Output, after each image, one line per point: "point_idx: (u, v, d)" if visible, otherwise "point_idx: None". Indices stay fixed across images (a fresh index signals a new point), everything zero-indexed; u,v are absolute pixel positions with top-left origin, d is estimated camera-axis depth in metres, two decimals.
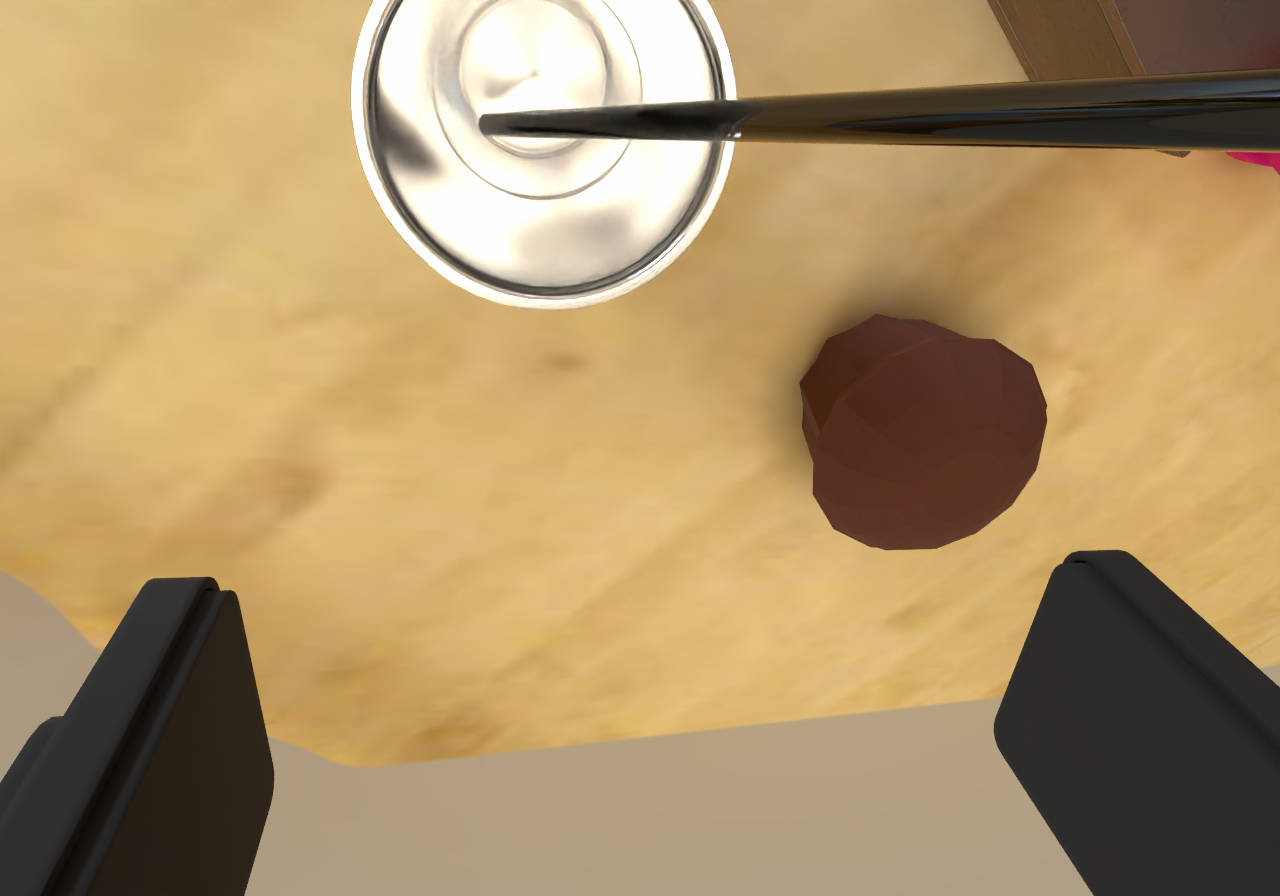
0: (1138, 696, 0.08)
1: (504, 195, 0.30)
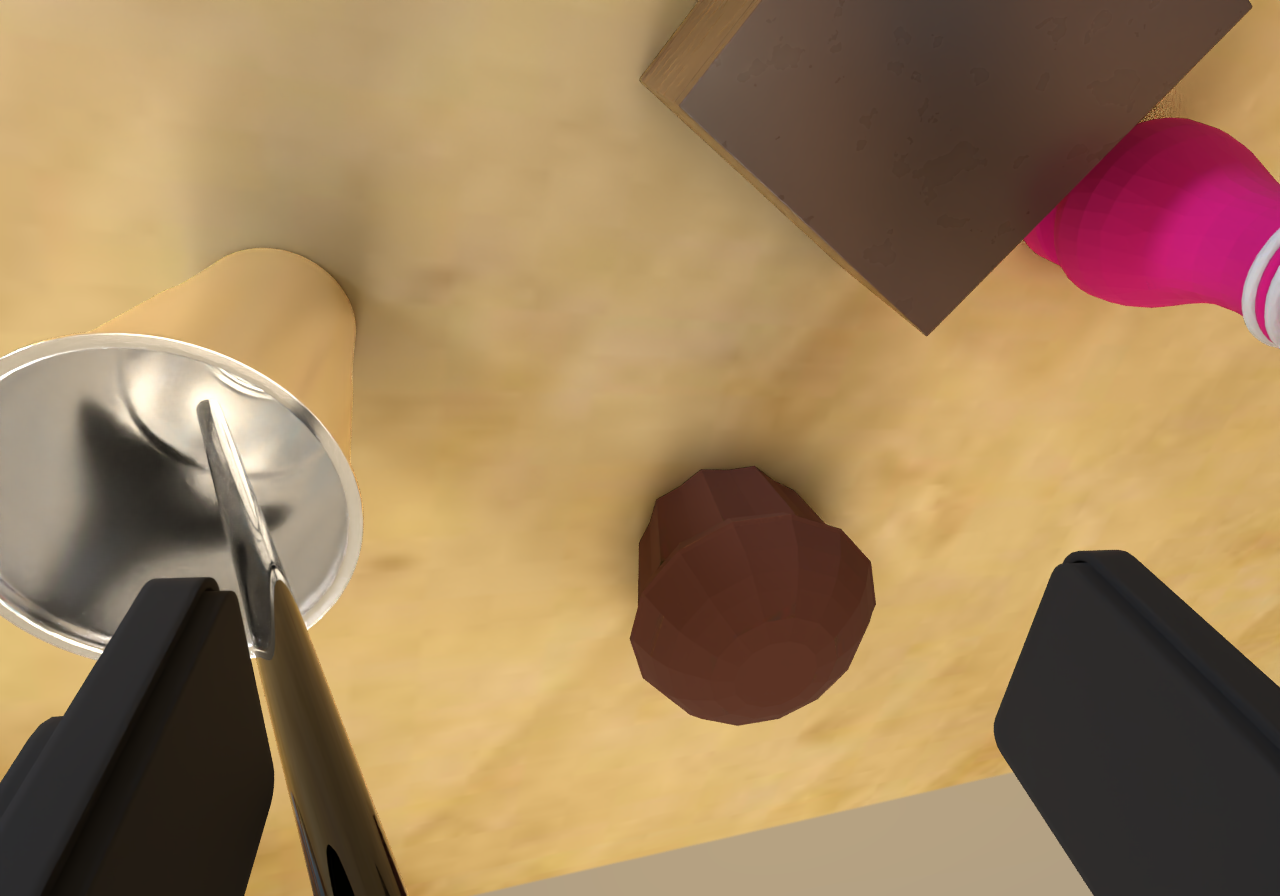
0: (1138, 696, 0.08)
1: None
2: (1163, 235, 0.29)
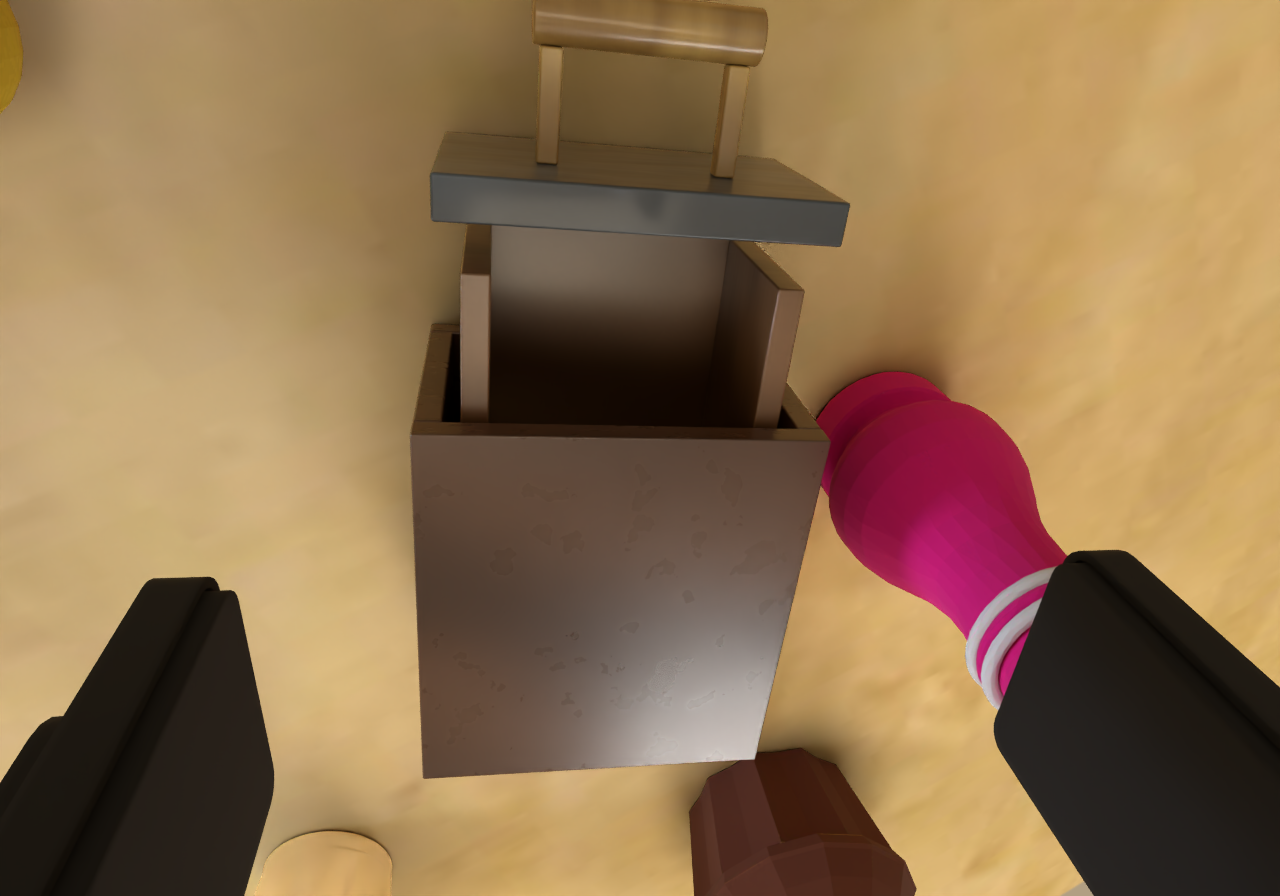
0: (1138, 695, 0.08)
1: None
2: (912, 583, 0.28)
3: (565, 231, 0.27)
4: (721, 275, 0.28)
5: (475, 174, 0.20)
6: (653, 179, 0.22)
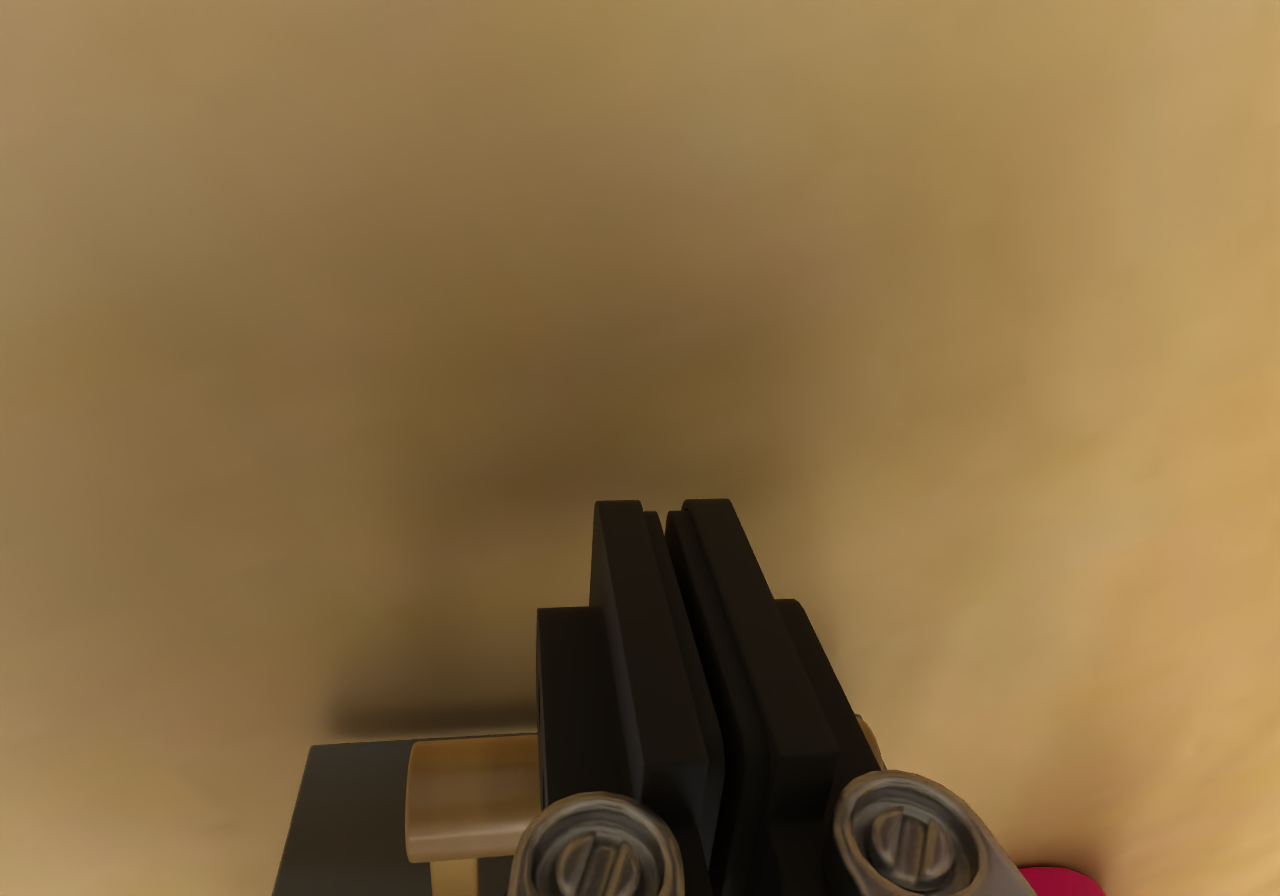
0: (692, 631, 0.09)
1: None
2: None
3: None
4: None
5: None
6: None
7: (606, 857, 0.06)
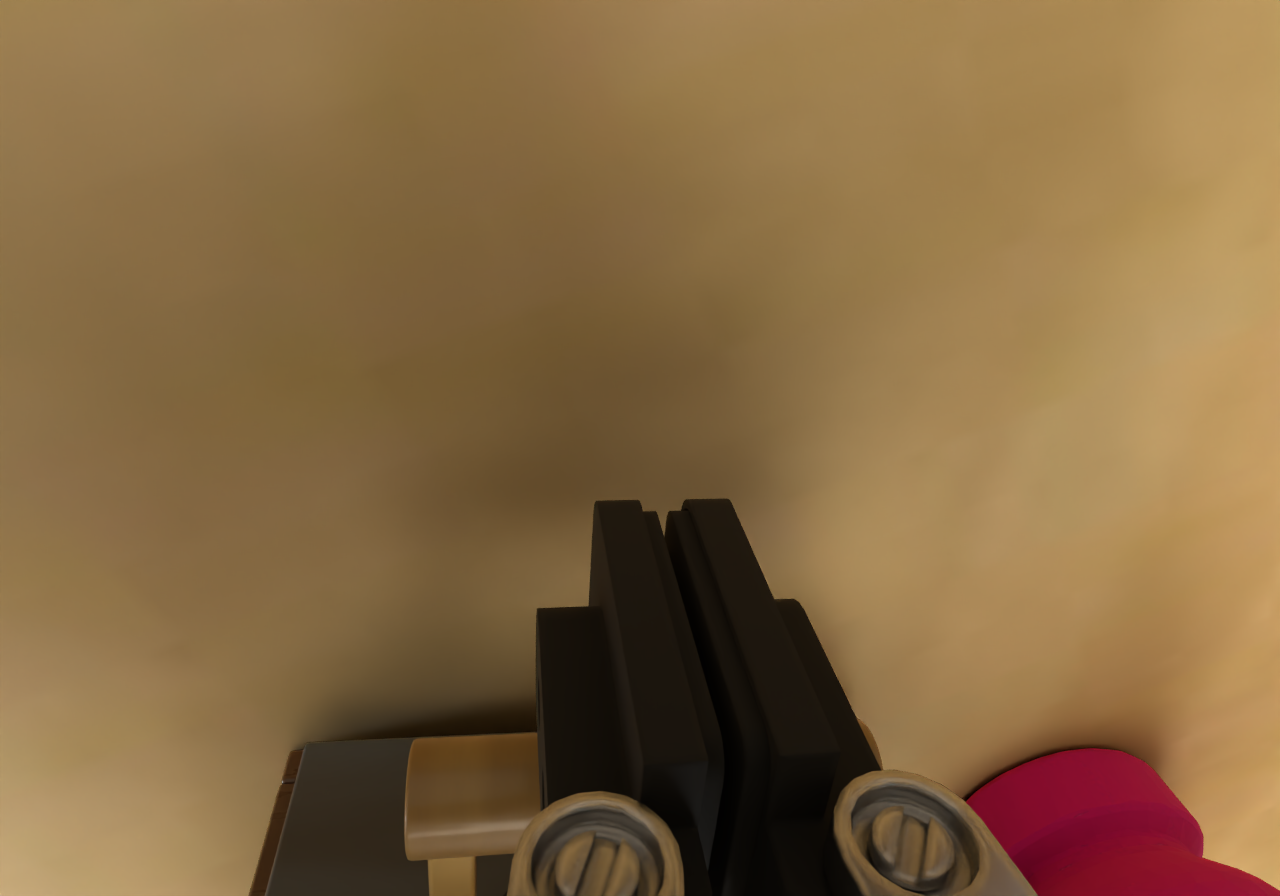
0: (691, 631, 0.09)
1: None
2: None
3: None
4: None
5: None
6: None
7: (606, 857, 0.06)
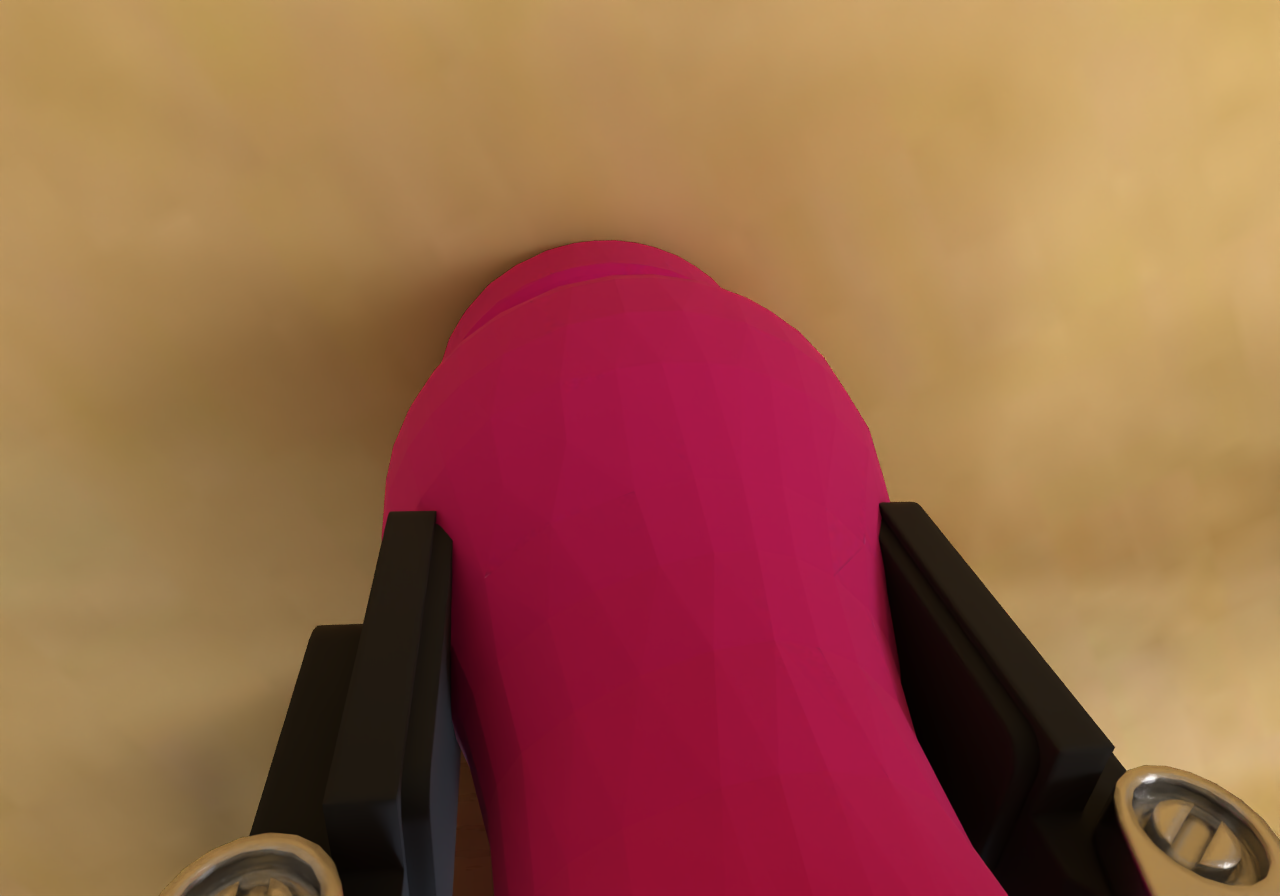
0: (902, 631, 0.09)
1: None
2: None
3: None
4: None
5: None
6: None
7: None
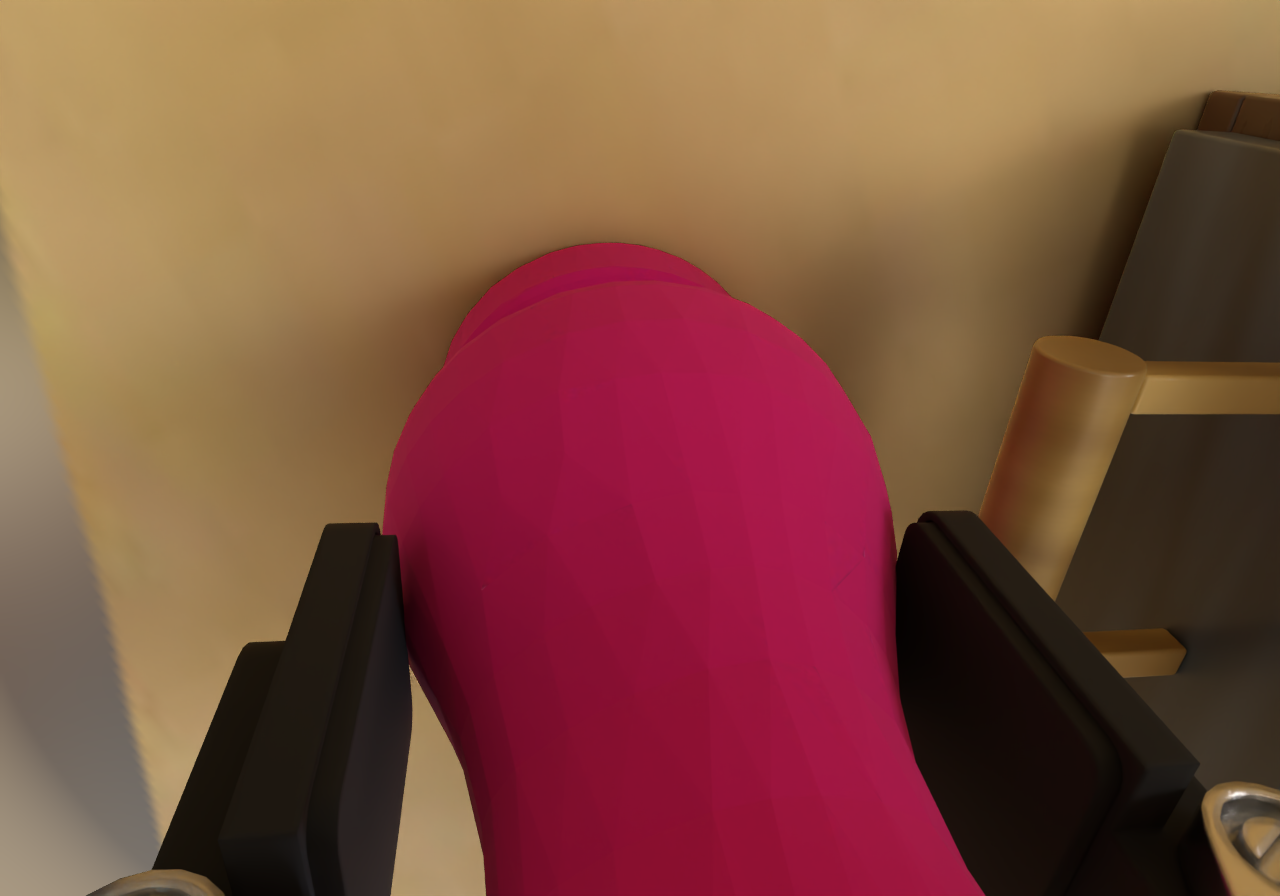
0: (964, 642, 0.09)
1: None
2: None
3: None
4: None
5: None
6: None
7: None
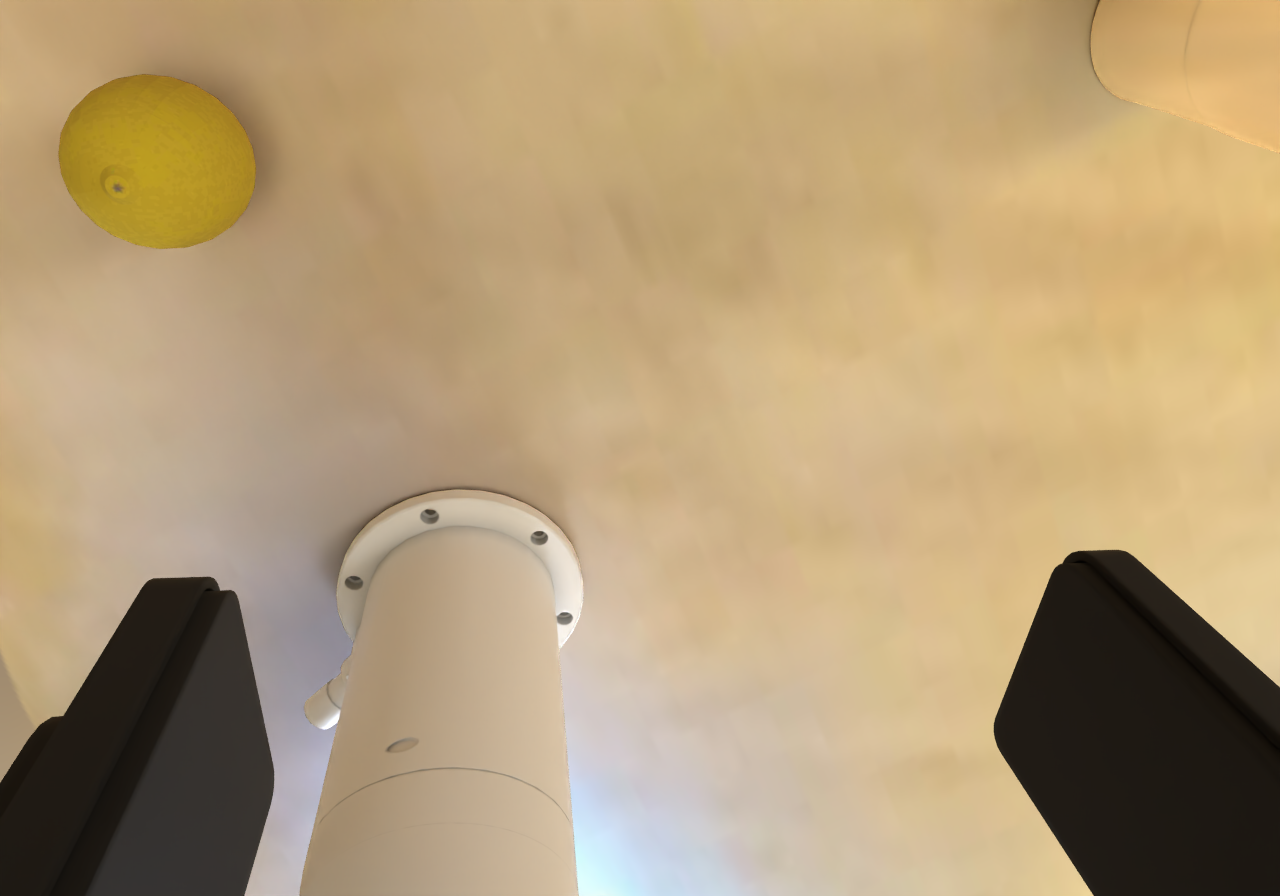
0: (1138, 696, 0.08)
1: None
2: None
3: None
4: None
5: None
6: None
7: None
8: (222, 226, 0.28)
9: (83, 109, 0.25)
